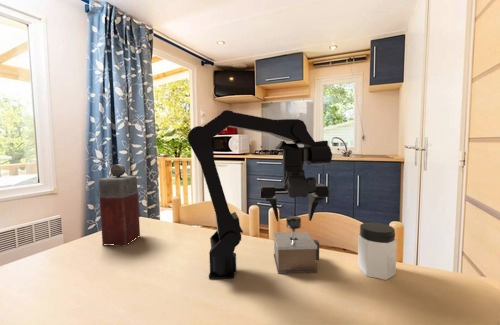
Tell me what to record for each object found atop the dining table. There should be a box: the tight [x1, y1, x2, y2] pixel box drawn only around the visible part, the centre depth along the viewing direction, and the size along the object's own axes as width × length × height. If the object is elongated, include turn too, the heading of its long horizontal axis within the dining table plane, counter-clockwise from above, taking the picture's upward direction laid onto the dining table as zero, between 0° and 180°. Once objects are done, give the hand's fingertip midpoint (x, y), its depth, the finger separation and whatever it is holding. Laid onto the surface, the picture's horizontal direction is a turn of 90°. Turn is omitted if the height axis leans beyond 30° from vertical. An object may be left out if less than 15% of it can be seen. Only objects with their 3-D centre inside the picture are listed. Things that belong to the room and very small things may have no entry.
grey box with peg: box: [273, 231, 320, 274], centre depth 70 cm, size 12×10×7 cm
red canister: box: [98, 163, 141, 246], centre depth 89 cm, size 9×11×28 cm
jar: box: [357, 221, 397, 281], centre depth 64 cm, size 9×8×12 cm
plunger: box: [285, 215, 302, 240], centre depth 69 cm, size 8×8×11 cm
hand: (293, 220), depth 69 cm, fingers open, 9 cm apart
